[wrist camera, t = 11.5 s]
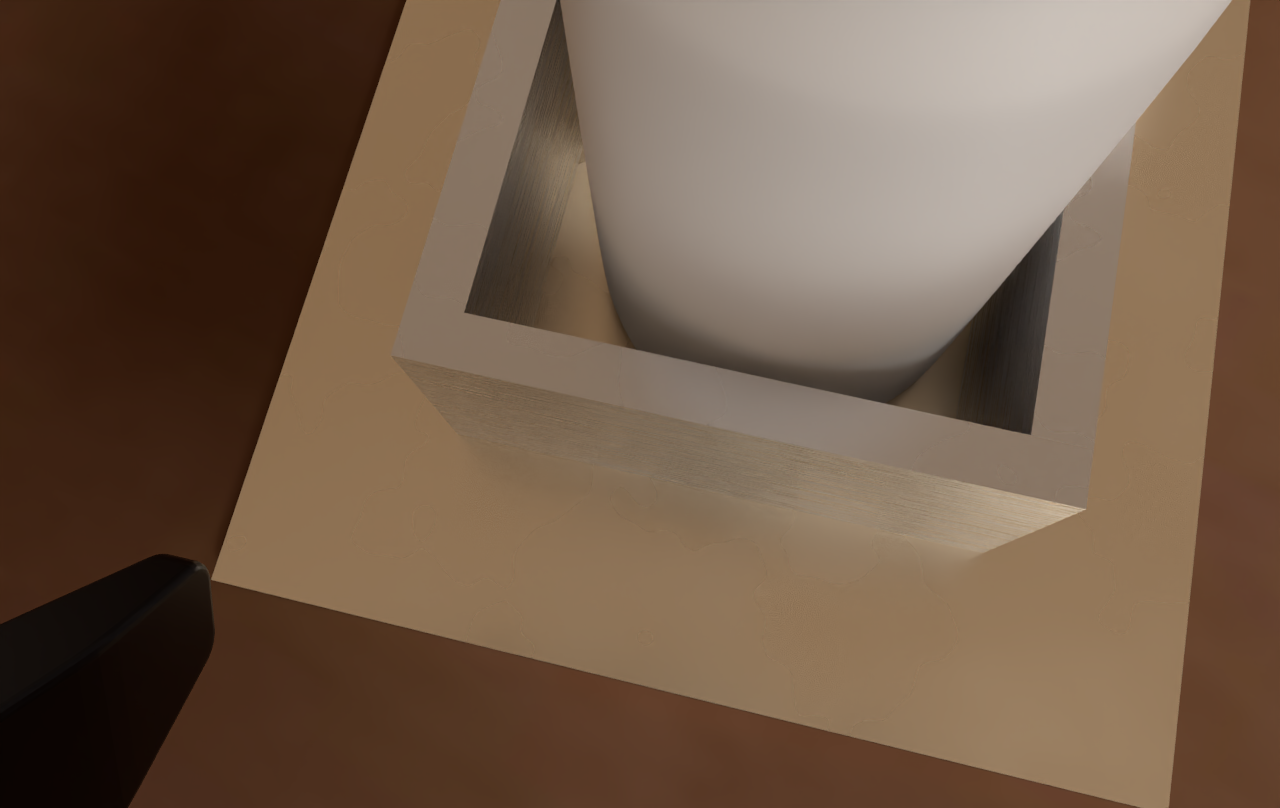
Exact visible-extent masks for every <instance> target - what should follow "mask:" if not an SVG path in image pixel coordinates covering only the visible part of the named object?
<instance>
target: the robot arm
mask: <svg viewBox="0 0 1280 808" xmlns="http://www.w3.org/2000/svg"><path fill="white" fill-rule="evenodd" d="M214 635H215V628H214V616H213V605H212V594H211V583H210V575H209V571H208V569H207V568H206V566H205V565H204V564H202V563H200V562H198V561H194V560H190V559H186V558H182V557H177V556H173V555H169V554H158V555H154V556H152V557H149V558H147V559H144V560H142V561H140V562H138V563H136V564H133V565H131V566H129V567H127V568H124V569H122V570H120V571H118V572H115V573H113V574H111V575H109V576H107V577H104V578H102V579H100V580H98V581H95V582H93V583H91V584H89V585H87V586H84V587H82V588H80V589H78V590H75V591H73V592H71V593H69V594H67V595H64V596H62V597H60V598H58V599H55V600H53V601H51V602H49V603H47V604H44V605H42V606H40V607H38V608H35V609H33V610H31V611H29V612H27V613H24V614H22V615H20V616H18V617H15V618H13V619H11V620H9V621H7V622H4V623H2V624H0V808H128V806H129V805H130V803H131V801H132V799H133V798H134V796H135V794H136V792H137V791H138V789H139V787H140V785H141V783H142V782H143V780H144V778H145V776H146V774H147V772H148V770H149V768H150V767H151V765H152V763H153V761H154V759H155V757H156V755H157V753H158V752H159V750H160V748H161V746H162V744H163V742H164V740H165V739H166V737H167V735H168V733H169V731H170V729H171V727H172V725H173V724H174V722H175V720H176V718H177V716H178V714H179V712H180V710H181V709H182V707H183V705H184V703H185V701H186V699H187V697H188V696H189V694H190V692H191V690H192V688H193V686H194V684H195V682H196V681H197V679H198V677H199V675H200V673H201V671H202V669H203V667H204V666H205V664H206V662H207V660H208V658H209V655H210V653H211V650H212V646H213V642H214Z"/></svg>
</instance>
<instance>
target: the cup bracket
mask: <svg viewBox="0 0 1280 808" xmlns="http://www.w3.org/2000/svg"><path fill="white" fill-rule="evenodd" d="M1249 7H1250V0H1232V1H1231V2H1230V4H1229V5H1228V6H1227V8H1226V9H1225V10H1224V12H1223V13H1222V14H1221V15H1220V17H1219V18H1218V19H1217V21H1216V22H1215V23H1214V25H1213V26H1212V27H1211V29H1210V30H1209V31H1208V33H1207V34H1206V35H1205V36H1204V38H1203V39H1202V40H1201V42H1200V43H1199V44H1198V46H1197V47H1196V48H1195V50H1194V51H1193V52H1192V53H1191V54H1190V56H1189V57H1188V58H1187V59H1186V61H1185V62H1184V63H1183V64H1182V66H1181V67H1180V68H1179V69H1178V71H1177V72H1176V73H1175V74H1174V76H1173V77H1172V78H1171V79H1170V80H1169V82H1168V83H1167V84H1166V85H1165V87H1164V88H1163V89H1162V90H1161V92H1160V93H1159V94H1158V95H1157V97H1156V98H1155V99H1154V100H1153V101H1152V103H1151V104H1150V105H1149V106H1148V108H1147V109H1146V110H1145V111H1144V113H1143V114H1142V115H1141V116H1140V117H1139V119H1138V120H1137V121H1136V122H1135V123H1134V125H1133V126H1132V127H1131V128H1130V130H1129V131H1128V132H1127V133H1126V134H1125V136H1124V137H1123V138H1122V139H1121V140H1120V142H1119V143H1118V144H1117V145H1116V147H1115V148H1114V149H1113V150H1112V151H1111V153H1110V154H1109V155H1108V156H1107V158H1106V159H1105V160H1104V161H1103V162H1102V164H1101V165H1100V166H1099V167H1098V168H1097V170H1096V171H1095V172H1094V173H1093V175H1092V176H1091V177H1090V178H1089V179H1088V181H1087V182H1086V183H1085V184H1084V185H1083V187H1082V188H1081V189H1080V190H1079V191H1078V193H1077V194H1076V195H1075V196H1074V198H1073V199H1072V200H1071V201H1070V202H1069V204H1068V205H1067V206H1066V207H1065V208H1064V210H1063V211H1062V212H1061V213H1060V214H1059V216H1058V217H1057V218H1056V219H1055V220H1054V222H1053V223H1052V224H1051V225H1050V226H1049V228H1048V229H1047V230H1046V231H1045V232H1044V234H1043V235H1042V236H1041V237H1040V238H1039V240H1038V241H1037V242H1036V243H1035V245H1034V246H1033V247H1032V248H1031V249H1030V251H1029V252H1028V253H1027V254H1026V255H1025V257H1024V258H1023V259H1022V260H1021V261H1020V263H1019V264H1018V265H1017V266H1016V267H1015V269H1014V270H1013V271H1012V272H1011V273H1010V274H1009V276H1008V277H1007V278H1006V279H1005V280H1004V282H1003V283H1002V284H1001V285H1000V286H999V288H998V289H997V290H996V291H995V292H994V294H993V295H992V296H991V297H990V298H989V300H988V301H987V302H986V303H985V304H984V306H983V307H982V308H981V309H980V310H979V311H978V313H977V314H976V315H975V316H974V317H973V319H972V320H971V321H970V322H969V323H968V324H967V326H966V327H965V328H964V329H963V330H962V332H961V333H960V334H959V335H958V336H957V337H956V339H955V340H954V341H953V342H952V343H951V344H950V346H949V347H948V348H947V349H946V350H945V351H944V353H943V354H942V355H941V356H940V357H939V358H938V359H937V360H936V362H935V363H934V364H933V365H932V366H931V367H930V368H929V369H928V370H927V371H926V372H925V373H924V374H923V375H922V376H921V377H920V378H919V379H918V380H917V381H916V382H915V383H913V384H912V385H911V386H910V387H908V388H907V389H906V390H905V391H903V392H902V393H901V394H899V395H898V396H896V397H895V398H893V399H892V400H890V401H889V402H887V403H880V402H875V401H871V400H866V399H861V398H857V397H852V396H848V395H843V394H838V393H834V392H829V391H824V390H820V389H815V388H811V387H806V386H801V385H797V384H792V383H787V382H783V381H778V380H774V379H769V378H764V377H760V376H755V375H750V374H746V373H741V372H737V371H732V370H727V369H723V368H718V367H713V366H709V365H704V364H700V363H695V362H690V361H686V360H681V359H676V358H672V357H667V356H663V355H658V354H653V353H649V352H644V351H639V350H636V348H635V347H634V345H633V343H632V342H631V340H630V338H629V337H628V335H627V333H626V331H625V329H624V327H623V325H622V323H621V321H620V318H619V316H618V314H617V311H616V309H615V306H614V304H613V301H612V298H611V295H610V292H609V288H608V285H607V280H606V276H605V271H604V267H603V261H602V256H601V251H600V245H599V239H598V233H597V227H596V221H595V216H594V210H593V204H592V198H591V191H590V185H589V179H588V173H587V167H586V161H585V155H584V148H583V142H582V136H581V130H580V124H579V117H578V111H577V105H576V98H575V92H574V86H573V80H572V73H571V67H570V61H569V54H568V48H567V41H566V35H565V28H564V22H563V16H562V9H561V3H560V0H406V3H405V6H404V9H403V12H402V15H401V18H400V21H399V24H398V27H397V30H396V33H395V36H394V39H393V42H392V45H391V48H390V51H389V54H388V56H387V59H386V62H385V65H384V68H383V71H382V74H381V77H380V80H379V83H378V86H377V89H376V92H375V95H374V98H373V101H372V104H371V107H370V110H369V113H368V116H367V119H366V122H365V125H364V128H363V131H362V134H361V137H360V140H359V142H358V145H357V148H356V151H355V154H354V157H353V160H352V163H351V166H350V169H349V172H348V175H347V178H346V181H345V184H344V187H343V190H342V193H341V196H340V199H339V202H338V205H337V208H336V211H335V214H334V217H333V220H332V223H331V226H330V228H329V231H328V234H327V237H326V240H325V243H324V246H323V249H322V252H321V255H320V258H319V261H318V264H317V267H316V270H315V273H314V276H313V279H312V282H311V285H310V288H309V291H308V294H307V297H306V300H305V303H304V306H303V309H302V312H301V314H300V317H299V320H298V323H297V326H296V329H295V332H294V335H293V338H292V341H291V344H290V347H289V350H288V353H287V356H286V359H285V362H284V365H283V368H282V371H281V374H280V377H279V380H278V383H277V386H276V389H275V392H274V395H273V398H272V400H271V403H270V406H269V409H268V412H267V415H266V418H265V421H264V424H263V427H262V430H261V433H260V436H259V439H258V442H257V445H256V448H255V451H254V454H253V457H252V460H251V463H250V466H249V469H248V472H247V475H246V478H245V481H244V484H243V486H242V489H241V492H240V495H239V498H238V501H237V504H236V507H235V510H234V513H233V516H232V519H231V522H230V525H229V528H228V531H227V534H226V537H225V540H224V543H223V546H222V549H221V552H220V555H219V558H218V561H217V564H216V567H215V570H214V573H213V575H212V578H211V580H214V581H218V582H222V583H226V584H230V585H234V586H238V587H242V588H247V589H251V590H255V591H259V592H263V593H267V594H271V595H275V596H279V597H283V598H287V599H291V600H296V601H300V602H304V603H308V604H312V605H316V606H320V607H324V608H328V609H332V610H336V611H340V612H345V613H349V614H353V615H357V616H361V617H365V618H369V619H373V620H377V621H381V622H385V623H389V624H393V625H398V626H402V627H406V628H410V629H414V630H418V631H422V632H426V633H430V634H434V635H438V636H442V637H447V638H451V639H455V640H459V641H463V642H467V643H471V644H475V645H479V646H483V647H487V648H491V649H496V650H500V651H504V652H508V653H512V654H516V655H520V656H524V657H528V658H532V659H536V660H540V661H545V662H549V663H553V664H557V665H561V666H565V667H569V668H573V669H577V670H581V671H585V672H589V673H594V674H598V675H602V676H606V677H610V678H614V679H618V680H622V681H626V682H630V683H634V684H638V685H643V686H647V687H651V688H655V689H659V690H663V691H667V692H671V693H675V694H679V695H683V696H687V697H692V698H696V699H700V700H704V701H708V702H712V703H716V704H720V705H724V706H728V707H732V708H736V709H741V710H745V711H749V712H753V713H757V714H761V715H765V716H769V717H773V718H777V719H781V720H785V721H790V722H794V723H798V724H802V725H806V726H810V727H814V728H818V729H822V730H826V731H830V732H834V733H839V734H843V735H847V736H851V737H855V738H859V739H863V740H867V741H871V742H875V743H879V744H883V745H888V746H892V747H896V748H900V749H904V750H908V751H912V752H916V753H920V754H924V755H928V756H932V757H937V758H941V759H945V760H949V761H953V762H957V763H961V764H965V765H969V766H973V767H977V768H981V769H986V770H990V771H994V772H998V773H1002V774H1006V775H1010V776H1014V777H1018V778H1022V779H1026V780H1030V781H1035V782H1039V783H1043V784H1047V785H1051V786H1055V787H1059V788H1063V789H1067V790H1071V791H1075V792H1079V793H1084V794H1088V795H1092V796H1096V797H1100V798H1104V799H1108V800H1112V801H1116V802H1120V803H1124V804H1128V805H1133V806H1137V807H1141V808H1169V799H1170V789H1171V779H1172V769H1173V759H1174V749H1175V739H1176V729H1177V720H1178V710H1179V700H1180V690H1181V680H1182V670H1183V660H1184V650H1185V640H1186V631H1187V621H1188V611H1189V601H1190V591H1191V581H1192V571H1193V561H1194V551H1195V542H1196V532H1197V522H1198V512H1199V502H1200V492H1201V482H1202V472H1203V462H1204V453H1205V443H1206V433H1207V423H1208V413H1209V403H1210V393H1211V383H1212V373H1213V364H1214V354H1215V344H1216V334H1217V324H1218V314H1219V304H1220V294H1221V284H1222V275H1223V265H1224V255H1225V245H1226V235H1227V225H1228V215H1229V205H1230V195H1231V185H1232V176H1233V166H1234V156H1235V146H1236V136H1237V126H1238V116H1239V106H1240V96H1241V87H1242V77H1243V67H1244V57H1245V47H1246V37H1247V27H1248V17H1249Z"/></svg>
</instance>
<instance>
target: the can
mask: <svg viewBox="0 0 1280 808" xmlns="http://www.w3.org/2000/svg"><path fill="white" fill-rule="evenodd" d="M1231 1H1232V0H560V3H561V9H562V16H563V22H564V28H565V35H566V41H567V48H568V54H569V61H570V67H571V73H572V80H573V86H574V92H575V98H576V105H577V111H578V117H579V124H580V130H581V136H582V142H583V148H584V155H585V161H586V167H587V173H588V179H589V185H590V191H591V198H592V204H593V210H594V216H595V221H596V227H597V233H598V239H599V245H600V251H601V256H602V261H603V267H604V271H605V276H606V280H607V285H608V288H609V292H610V295H611V298H612V301H613V304H614V306H615V309H616V311H617V314H618V316H619V318H620V321H621V323H622V325H623V327H624V329H625V331H626V333H627V335H628V337H629V338H630V340H631V342H632V343H633V345H634V347H635V348H636V350H639V351H644V352H649V353H653V354H658V355H663V356H667V357H672V358H676V359H681V360H686V361H690V362H695V363H700V364H704V365H709V366H713V367H718V368H723V369H727V370H732V371H737V372H741V373H746V374H750V375H755V376H760V377H764V378H769V379H774V380H778V381H783V382H787V383H792V384H797V385H801V386H806V387H811V388H815V389H820V390H824V391H829V392H834V393H838V394H843V395H848V396H852V397H857V398H861V399H866V400H871V401H875V402H880V403H887V402H889V401H890V400H892V399H893V398H895V397H896V396H898V395H899V394H901V393H902V392H903V391H905V390H906V389H907V388H908V387H910V386H911V385H912V384H913V383H915V382H916V381H917V380H918V379H919V378H920V377H921V376H922V375H923V374H924V373H925V372H926V371H927V370H928V369H929V368H930V367H931V366H932V365H933V364H934V363H935V362H936V360H937V359H938V358H939V357H940V356H941V355H942V354H943V353H944V351H945V350H946V349H947V348H948V347H949V346H950V344H951V343H952V342H953V341H954V340H955V339H956V337H957V336H958V335H959V334H960V333H961V332H962V330H963V329H964V328H965V327H966V326H967V324H968V323H969V322H970V321H971V320H972V319H973V317H974V316H975V315H976V314H977V313H978V311H979V310H980V309H981V308H982V307H983V306H984V304H985V303H986V302H987V301H988V300H989V298H990V297H991V296H992V295H993V294H994V292H995V291H996V290H997V289H998V288H999V286H1000V285H1001V284H1002V283H1003V282H1004V280H1005V279H1006V278H1007V277H1008V276H1009V274H1010V273H1011V272H1012V271H1013V270H1014V269H1015V267H1016V266H1017V265H1018V264H1019V263H1020V261H1021V260H1022V259H1023V258H1024V257H1025V255H1026V254H1027V253H1028V252H1029V251H1030V249H1031V248H1032V247H1033V246H1034V245H1035V243H1036V242H1037V241H1038V240H1039V238H1040V237H1041V236H1042V235H1043V234H1044V232H1045V231H1046V230H1047V229H1048V228H1049V226H1050V225H1051V224H1052V223H1053V222H1054V220H1055V219H1056V218H1057V217H1058V216H1059V214H1060V213H1061V212H1062V211H1063V210H1064V208H1065V207H1066V206H1067V205H1068V204H1069V202H1070V201H1071V200H1072V199H1073V198H1074V196H1075V195H1076V194H1077V193H1078V191H1079V190H1080V189H1081V188H1082V187H1083V185H1084V184H1085V183H1086V182H1087V181H1088V179H1089V178H1090V177H1091V176H1092V175H1093V173H1094V172H1095V171H1096V170H1097V168H1098V167H1099V166H1100V165H1101V164H1102V162H1103V161H1104V160H1105V159H1106V158H1107V156H1108V155H1109V154H1110V153H1111V151H1112V150H1113V149H1114V148H1115V147H1116V145H1117V144H1118V143H1119V142H1120V140H1121V139H1122V138H1123V137H1124V136H1125V134H1126V133H1127V132H1128V131H1129V130H1130V128H1131V127H1132V126H1133V125H1134V123H1135V122H1136V121H1137V120H1138V119H1139V117H1140V116H1141V115H1142V114H1143V113H1144V111H1145V110H1146V109H1147V108H1148V106H1149V105H1150V104H1151V103H1152V101H1153V100H1154V99H1155V98H1156V97H1157V95H1158V94H1159V93H1160V92H1161V90H1162V89H1163V88H1164V87H1165V85H1166V84H1167V83H1168V82H1169V80H1170V79H1171V78H1172V77H1173V76H1174V74H1175V73H1176V72H1177V71H1178V69H1179V68H1180V67H1181V66H1182V64H1183V63H1184V62H1185V61H1186V59H1187V58H1188V57H1189V56H1190V54H1191V53H1192V52H1193V51H1194V50H1195V48H1196V47H1197V46H1198V44H1199V43H1200V42H1201V40H1202V39H1203V38H1204V36H1205V35H1206V34H1207V33H1208V31H1209V30H1210V29H1211V27H1212V26H1213V25H1214V23H1215V22H1216V21H1217V19H1218V18H1219V17H1220V15H1221V14H1222V13H1223V12H1224V10H1225V9H1226V8H1227V6H1228V5H1229V4H1230V2H1231Z"/></svg>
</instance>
